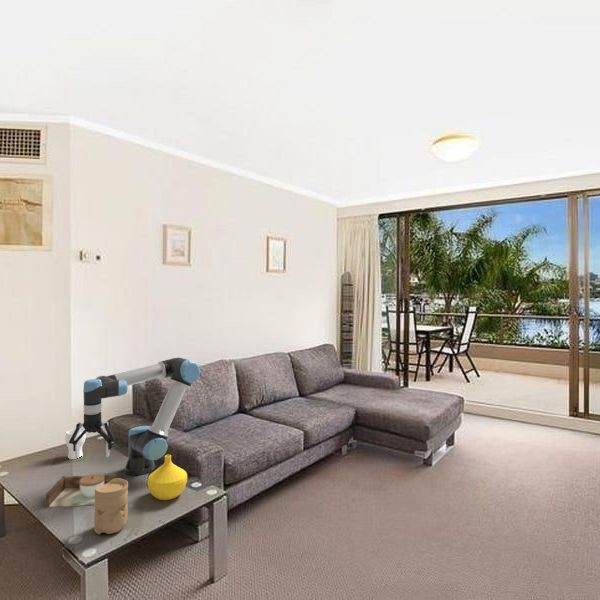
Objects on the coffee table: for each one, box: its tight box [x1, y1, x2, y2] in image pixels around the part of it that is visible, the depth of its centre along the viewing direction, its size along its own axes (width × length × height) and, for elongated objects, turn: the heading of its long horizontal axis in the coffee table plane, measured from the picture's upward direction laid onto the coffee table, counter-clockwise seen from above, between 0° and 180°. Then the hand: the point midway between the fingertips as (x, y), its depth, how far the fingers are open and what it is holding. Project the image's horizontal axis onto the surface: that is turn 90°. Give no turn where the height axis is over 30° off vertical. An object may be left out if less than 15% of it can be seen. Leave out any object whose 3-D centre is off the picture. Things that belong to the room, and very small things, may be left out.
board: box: [45, 488, 95, 508], centre depth 199 cm, size 26×18×1 cm
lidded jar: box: [79, 473, 105, 498], centre depth 198 cm, size 11×11×9 cm
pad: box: [70, 491, 95, 504], centre depth 198 cm, size 14×14×1 cm
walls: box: [45, 473, 119, 507], centre depth 199 cm, size 26×18×6 cm
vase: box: [147, 454, 188, 501], centre depth 201 cm, size 18×18×19 cm
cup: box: [64, 428, 87, 460], centre depth 244 cm, size 11×11×15 cm
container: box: [93, 477, 129, 536], centre depth 173 cm, size 13×13×18 cm
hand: (92, 456), depth 199 cm, fingers open, 13 cm apart
